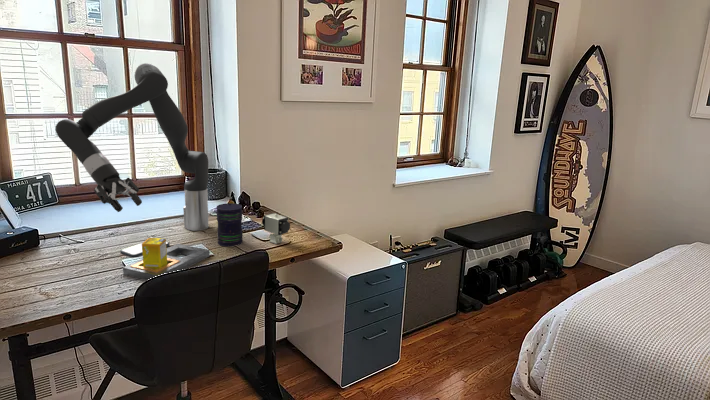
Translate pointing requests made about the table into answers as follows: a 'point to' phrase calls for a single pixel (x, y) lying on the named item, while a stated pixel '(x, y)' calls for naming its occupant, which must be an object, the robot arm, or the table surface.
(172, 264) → the hole rail
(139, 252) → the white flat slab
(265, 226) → the pneumatic valve
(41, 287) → the table surface
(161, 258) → the supplement box
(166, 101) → the robot arm
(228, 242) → the storage jar
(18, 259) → the table surface
